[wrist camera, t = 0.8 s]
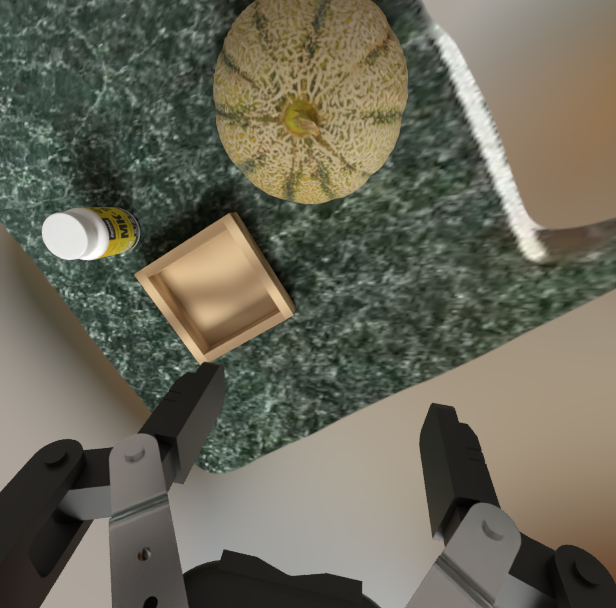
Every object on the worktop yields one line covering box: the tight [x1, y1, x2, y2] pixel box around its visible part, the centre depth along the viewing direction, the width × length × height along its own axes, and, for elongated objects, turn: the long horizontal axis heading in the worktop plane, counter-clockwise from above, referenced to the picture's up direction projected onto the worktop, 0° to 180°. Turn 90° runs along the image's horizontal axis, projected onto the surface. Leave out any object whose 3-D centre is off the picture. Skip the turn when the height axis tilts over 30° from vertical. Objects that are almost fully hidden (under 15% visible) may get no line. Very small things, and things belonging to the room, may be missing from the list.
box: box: [134, 212, 296, 365], centre depth 37 cm, size 12×12×3 cm
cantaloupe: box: [213, 0, 408, 204], centre depth 27 cm, size 15×15×15 cm
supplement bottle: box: [42, 207, 140, 260], centre depth 34 cm, size 5×5×8 cm
